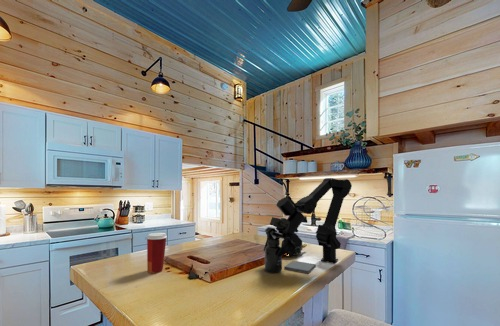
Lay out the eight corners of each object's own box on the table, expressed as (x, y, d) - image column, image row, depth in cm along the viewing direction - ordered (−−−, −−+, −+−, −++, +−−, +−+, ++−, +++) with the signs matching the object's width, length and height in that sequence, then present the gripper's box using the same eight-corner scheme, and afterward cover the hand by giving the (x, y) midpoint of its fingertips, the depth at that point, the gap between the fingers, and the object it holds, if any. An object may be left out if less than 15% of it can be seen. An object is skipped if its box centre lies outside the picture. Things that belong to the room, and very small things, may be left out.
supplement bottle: (282, 273, 94) (282, 241, 95) (265, 273, 94) (265, 241, 96) (281, 268, 101) (281, 238, 102) (264, 267, 101) (264, 237, 102)
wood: (209, 280, 88) (209, 271, 88) (188, 281, 87) (188, 272, 87) (210, 262, 109) (211, 255, 110) (193, 262, 108) (194, 255, 109)
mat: (293, 262, 108) (292, 260, 108) (315, 266, 103) (315, 264, 103) (284, 269, 100) (284, 266, 100) (308, 273, 94) (308, 270, 95)
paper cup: (168, 268, 99) (170, 232, 101) (160, 274, 92) (161, 236, 93) (150, 267, 100) (152, 232, 101) (140, 273, 92) (142, 235, 94)
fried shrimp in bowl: (273, 246, 119) (288, 229, 134) (284, 267, 118) (298, 248, 133) (288, 241, 114) (302, 225, 128) (300, 263, 113) (312, 243, 128)
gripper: (268, 208, 110) (246, 235, 104) (296, 212, 94) (272, 244, 87) (282, 225, 113) (262, 253, 107) (311, 231, 97) (289, 264, 90)
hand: (270, 253), depth 98 cm, fingers open, 9 cm apart
